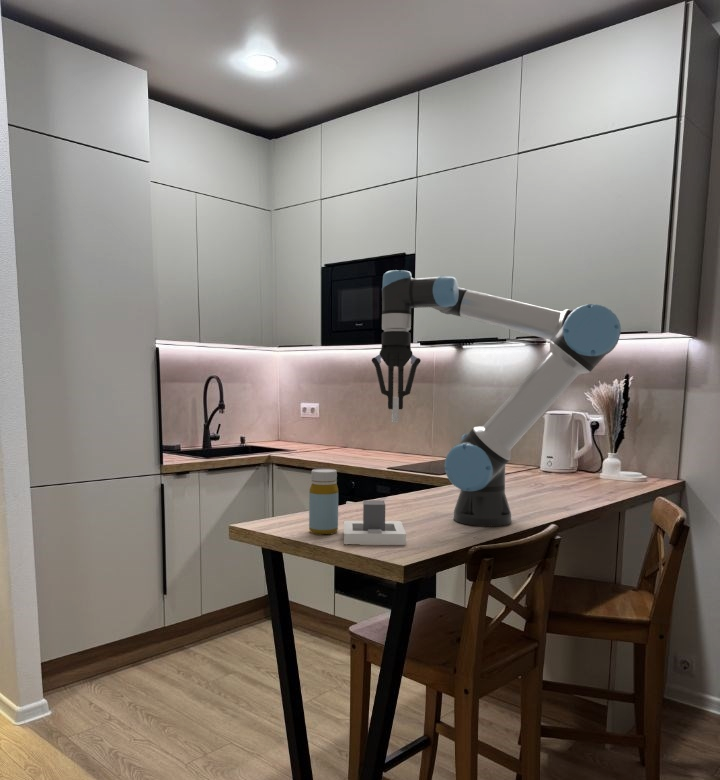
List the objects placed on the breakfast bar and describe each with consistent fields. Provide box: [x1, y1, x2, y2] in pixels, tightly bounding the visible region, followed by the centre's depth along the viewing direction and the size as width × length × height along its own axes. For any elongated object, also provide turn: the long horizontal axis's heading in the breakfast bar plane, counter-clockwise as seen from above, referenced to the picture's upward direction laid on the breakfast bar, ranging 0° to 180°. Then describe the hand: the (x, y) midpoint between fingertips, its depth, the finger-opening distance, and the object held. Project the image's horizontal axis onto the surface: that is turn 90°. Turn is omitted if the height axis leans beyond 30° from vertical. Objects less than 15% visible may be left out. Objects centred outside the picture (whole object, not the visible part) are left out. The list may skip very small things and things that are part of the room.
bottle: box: [308, 468, 339, 535], centre depth 151 cm, size 7×7×15 cm
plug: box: [362, 499, 386, 531], centre depth 146 cm, size 5×5×8 cm
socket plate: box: [343, 520, 407, 546], centre depth 146 cm, size 14×13×3 cm
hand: (395, 422), depth 161 cm, fingers closed
